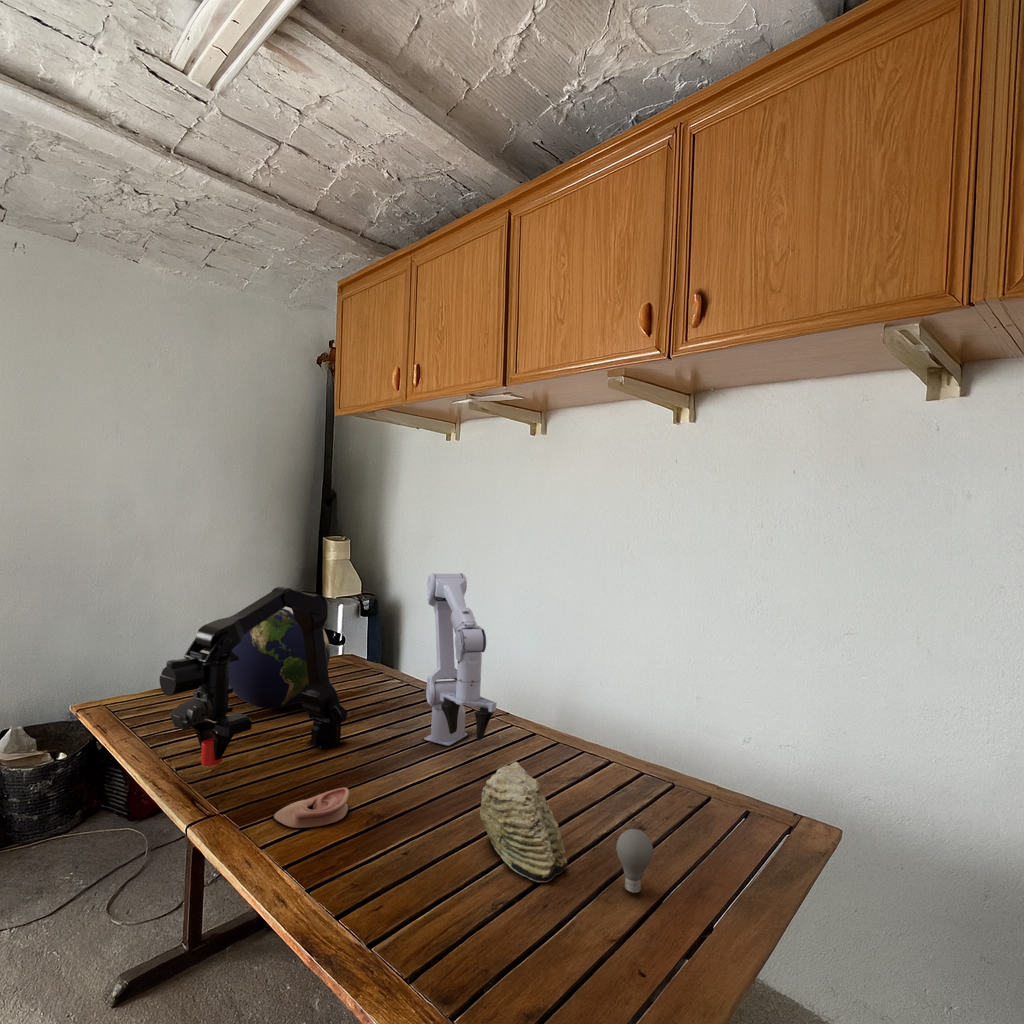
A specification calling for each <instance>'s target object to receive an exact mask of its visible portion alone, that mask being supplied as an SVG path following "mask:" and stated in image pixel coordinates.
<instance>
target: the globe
mask: <svg viewBox="0 0 1024 1024" xmlns="http://www.w3.org/2000/svg"><path fill="white" fill-rule="evenodd" d="M323 632H324V641H325V649H326V657H327V665H328V666H329V663H330V656H331V655H330V654H331V650H330V649H331V648H330V641H329V638H328V635H327V633H326V631H325V629H324V628H323ZM232 651H233V653H234V654H235V655H237V656H238V657H239V660H236V661H231V662H230V665H229V687H231V688H233V693H234V694H235V695H236V696H237V697H238V698H239V699H240V700H242V701H244V702H245V703H247V704H248V705H251V706H254V707H258V708H262V709H282V708H285V707H289V706H293V705H295V704H298V703H299V702H301V701H303V700H302V696H301V693H302V692H304V691H306V689H307V687H308V685H309V680H308V672H307V664H306V656H305V648H304V640H303V633H302V629H301V628H300V626H299V625H298V623H297V622H296V620H295V618H294V615H293V611H292V609H291V608H289V607H284V608H283V609H281V610H280V611H278V612H277V613H275V614H274V615H272V616H271V617H269V618H267V619H266V620H264V621H263V622H261V623H260V624H258V625H257V626H255V627H254V628H252V629H251V630H249V631H248V632H247V633H246V634H245V635H244V636H243V638H242V640H241V642H240V643H239V644H238V645H237V646H235V647H234V648H233V649H232Z"/></svg>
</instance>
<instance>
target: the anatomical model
mask: <svg viewBox="0 0 1024 1024" xmlns="http://www.w3.org/2000/svg"><path fill="white" fill-rule="evenodd" d="M349 795H350V791H349V788H347V787H339V788H336V789H332V790H328V791H325V792H323V793H319V794H317V795H314V796H312V797H310V798H307V799H301V800H299V801H295V802H293V803H289V804H288V805H286V806H284V807H282V808H281V809H279V810H278V811H276V812H275V813H274V815H273V818H274V819H275V820H276V821H277V822H279V823H281V824H282V825H284V826H287V827H289V828H293V829H303V828H315V827H321V826H326V825H330V824H333V823H335V822H338V821H340V820H342V819H343V818H345V816H346V815H347V813H348V810H349V805H348V803H347V802H348V799H349Z"/></svg>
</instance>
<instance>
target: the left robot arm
mask: <svg viewBox="0 0 1024 1024" xmlns="http://www.w3.org/2000/svg"><path fill="white" fill-rule="evenodd" d="M284 607H289V608H291V609H292V611H293V615H294V618H295V620H296V622H297V623H298V625H299V626H300V628H301V629H302V633H303V640H304V648H305V656H306V664H307V672H308V680H309V685H308V687H307V689H306V691H304V692H302V693H301V696H302V700H301V701H302V704H301V707H302V708H304V710H305V712H307V715H308V719H311V720H312V719H313V721H312V722H313V723H312V727H311V730H310V731H311V732H310V733H311V735H310V739H309V740H308V743H309V744H310V745H313V746H314V747H316V748H318V749H320V750H327V749H329V748H333V747H336V746H340V745H343V744H344V743H345V741H344V740H343V739H341V737H342V735H341V733H342V723H343V722H346V720H347V717H348V714H349V713H348V711H347V709H346V708H344V707H343V706H342V705H341V704H340V699H339V695H338V692H337V690H336V688H335V687H334V685H333V684H332V682H331V680H330V674H329V664H328V665H327V657H326V649H325V641H324V632H323V629H324V626H325V624H326V621H327V620H328V613H329V612H328V610H329V604H328V600H327V598H326V597H325V596H323V595H321V594H317V593H311V592H304V591H303V592H300V591H297V590H294V589H293V588H291V587H290V588H289V587H284V586H277V587H275V588H272V590H271V591H270V592H269V593H267V594H266V595H263V596H262V597H260V598H259V599H257V600H256V601H254V602H253V603H251V604H249V605H247V606H246V607H244V608H243V609H241V610H239V611H238V612H236V613H235V614H233V615H230V616H227V617H223V618H218V619H215V620H213V621H211V622H208V623H205V624H204V625H202V626H201V627H200V628H199V629H198V630H197V633H196V636H195V638H194V639H193V641H192V642H191V644H190V646H188V648H187V650H186V652H185V653H184V654H183V658H180V659H179V658H178V659H169V660H167V661H166V666H165V667H164V668H163V669H162V670H161V674H160V675H159V686H160V689H161V691H162V693H163V694H164V695H165V696H167V697H171V696H174V695H178V694H182V693H186V692H190V691H191V692H192V691H193V693H192V698H191V699H189V700H187V701H185V702H183V703H179V705H178V706H177V707H175V708H174V709H172V710H171V711H170V712H169V716H170V718H171V721H172V724H173V726H174V727H175V728H179V729H180V730H182V731H187V730H189V729H192V730H194V732H195V735H196V737H197V741H198V744H199V747H200V750H201V749H202V741H203V740H206V739H209V738H213V740H214V754H215V760H219V759H221V757H222V758H223V756H224V754H225V751H226V750H227V748H228V747H229V744H230V742H231V741H232V739H233V738H234V736H235V735H238V734H241V733H245V732H248V731H250V730H252V728H253V718H251V717H250V716H249V715H246V714H243V713H240V712H237V713H233V714H229V713H232V712H233V706H231V705H229V694H233V693H234V692H233V688H231V687H229V665H230V662H231V661H236V660H239V657H238V656H237V655H235V654H234V653H233V651H232V649H233V648H234V647H235V646H237V645H238V644H239V643H240V642H241V640H242V638H243V636H244V635H245V634H246V633H247V632H248V631H249V630H251V629H252V628H254V627H255V626H257V625H258V624H260V623H261V622H263V621H264V620H266V619H267V618H269V617H271V616H272V615H274V614H275V613H277V612H278V611H280V610H281V609H283V608H284ZM203 651H204V652H203ZM205 652H208V653H205ZM228 714H229V715H228Z"/></svg>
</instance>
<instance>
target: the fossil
mask: <svg viewBox="0 0 1024 1024" xmlns="http://www.w3.org/2000/svg"><path fill="white" fill-rule="evenodd" d="M479 819H480V820H481V822H482V823H483V827H484V829H485V832H486V833H487V836H488V838H489V840H490V842H491V844H492V845H493V848H494V850H495V852H496V853H497V854H498V856H500V858H501V859H502V861H503V862H504V863H505V864H506V865H507V867H509V868H510V869H511V870H513V871H514V873H517V874H519V875H520V876H522V877H525V878H527V879H528V880H531V881H533V882H536V883H548V882H550V881H552V880H553V879H554V878H555V877H556V876H557V875H560V874H561V873H563V872H564V871H565V870H566V868H567V867H568V866H569V863H568V859H567V856H566V848H565V847H564V841H563V838H562V834H561V831H560V826H559V824H558V822H557V821H556V818H555V817H554V813H553V811H552V810H551V807H550V805H549V803H548V802H547V799H546V796H545V794H544V790H543V789H542V786H541V784H540V781H539V780H537V779H535V778H533V777H532V776H531V775H529V773H528V772H527V771H526V769H524V768H523V766H521V764H520V763H519V762H518V761H513V762H512V763H511V764H509V765H507V764H506V765H504V766H502V767H500V768H498V769H497V770H496V772H495V773H494V774H492V775H491V776H490V778H489V779H487V780H486V782H485V786H483V788H482V792H481V802H480V808H479Z"/></svg>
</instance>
